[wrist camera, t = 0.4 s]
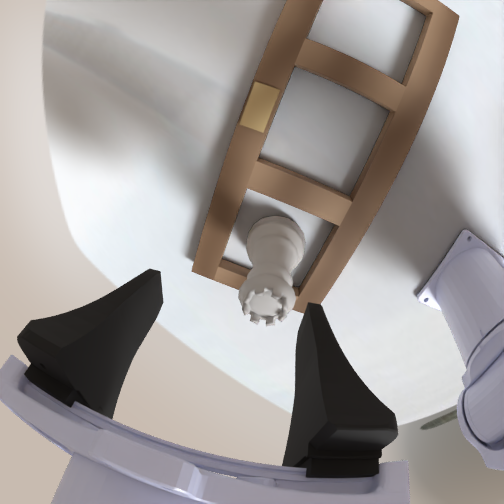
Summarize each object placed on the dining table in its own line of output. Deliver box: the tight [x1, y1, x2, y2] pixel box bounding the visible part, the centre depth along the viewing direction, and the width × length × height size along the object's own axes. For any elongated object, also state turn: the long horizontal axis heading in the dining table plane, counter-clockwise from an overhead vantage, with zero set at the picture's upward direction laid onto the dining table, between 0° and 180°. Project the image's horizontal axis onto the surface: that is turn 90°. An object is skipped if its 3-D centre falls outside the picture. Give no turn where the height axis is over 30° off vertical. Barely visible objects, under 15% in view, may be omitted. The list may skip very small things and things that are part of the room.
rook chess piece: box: [238, 216, 306, 326], centre depth 18 cm, size 4×4×8 cm
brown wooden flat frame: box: [192, 0, 459, 313], centre depth 16 cm, size 11×28×2 cm, turn 161°
